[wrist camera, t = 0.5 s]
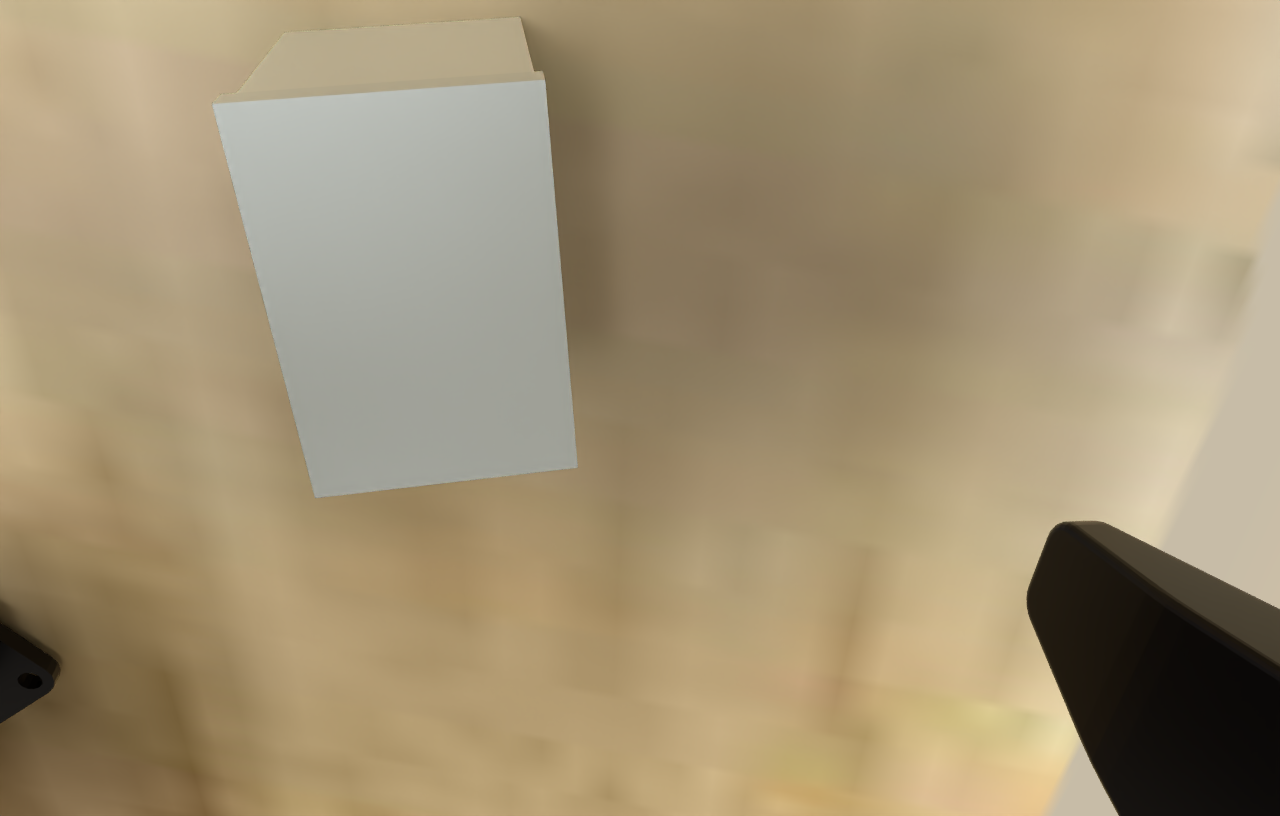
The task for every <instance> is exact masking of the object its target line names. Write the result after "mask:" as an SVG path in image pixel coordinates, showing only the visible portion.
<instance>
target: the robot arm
mask: <svg viewBox="0 0 1280 816" xmlns="http://www.w3.org/2000/svg"><path fill="white" fill-rule="evenodd" d="M1027 609H1028V614H1029V617H1030V620H1031V623H1032V625H1033V627H1034V630H1035V632H1036V635H1037V637H1038V639H1039V642H1040V644H1041V647H1042V649H1043V651H1044V654H1045V656H1046V659H1047V661H1048V663H1049V666H1050V668H1051V670H1052V673H1053V675H1054V678H1055V680H1056V682H1057V685H1058V687H1059V690H1060V692H1061V694H1062V697H1063V699H1064V702H1065V704H1066V706H1067V709H1068V711H1069V713H1070V716H1071V718H1072V721H1073V723H1074V725H1075V728H1076V730H1077V733H1078V735H1079V737H1080V740H1081V742H1082V744H1083V746H1084V748H1085V751H1086V753H1087V755H1088V757H1089V760H1090V762H1091V764H1092V766H1093V768H1094V769H1095V772H1096V773H1097V776H1098V778H1099V779H1100V781H1101V783H1102V785H1103V787H1104V789H1105V791H1106V793H1107V795H1108V796H1109V798H1110V800H1111V802H1112V804H1113V806H1114V808H1115V810H1116V811H1117V813H1118V815H1119V816H1280V609H1278V608H1276V607H1274V606H1272V605H1270V604H1268V603H1266V602H1264V601H1262V600H1260V599H1258V598H1256V597H1254V596H1252V595H1250V594H1248V593H1246V592H1244V591H1242V590H1240V589H1238V588H1236V587H1234V586H1232V585H1230V584H1228V583H1226V582H1224V581H1222V580H1220V579H1218V578H1216V577H1214V576H1212V575H1210V574H1207V573H1206V572H1204V571H1202V570H1199V569H1198V568H1196V567H1193V566H1192V565H1189V564H1187V563H1185V562H1183V561H1181V560H1179V559H1177V558H1175V557H1173V556H1171V555H1169V554H1167V553H1165V552H1163V551H1161V550H1159V549H1157V548H1155V547H1153V546H1151V545H1149V544H1147V543H1145V542H1143V541H1141V540H1139V539H1137V538H1135V537H1133V536H1131V535H1129V534H1127V533H1125V532H1123V531H1121V530H1119V529H1117V528H1115V527H1113V526H1111V525H1109V524H1106V523H1104V522H1099V521H1070V522H1062V523H1060V524H1057V525H1056V526H1055V527H1054V528H1053V529H1052V530H1051V531H1050V533H1049V535H1048V538H1047V540H1046V543H1045V545H1044V548H1043V551H1042V553H1041V556H1040V558H1039V561H1038V564H1037V566H1036V569H1035V571H1034V574H1033V577H1032V579H1031V582H1030V584H1029V587H1028V591H1027ZM29 673H33V674H36V675H38V676H34V675H31V674H29ZM59 674H60V666H59V664H58V662H57V661H56V660H54V659H53V658H52V657H51V656H49V655H48V654H46V653H45V652H43V651H42V650H40V649H39V648H37V647H36V646H34V645H33V644H31V643H30V642H28V641H27V640H25V639H24V638H22V637H21V636H19V635H18V634H16V633H15V632H13V631H11V630H10V629H8V628H7V627H5V626H4V625H2V624H1V623H0V723H2V722H3V721H5V720H6V719H8V718H9V717H11V716H13V715H14V714H16V713H17V712H19V711H20V710H22V709H24V708H25V707H27V706H28V705H30V704H32V703H33V702H35V701H36V700H38V699H39V698H41V697H43V696H44V695H46V694H47V693H49V692H50V691H51V690H52V689H53V687H54V685H55V683H56V681H57V679H58V676H59Z"/></svg>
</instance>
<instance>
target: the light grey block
mask: <svg viewBox="0 0 1280 816" xmlns="http://www.w3.org/2000/svg"><path fill="white" fill-rule="evenodd" d="M212 107H213V110H214V114H215V118H216V122H217V126H218V129H219V133H220V137H221V141H222V145H223V149H224V152H225V156H226V160H227V164H228V168H229V171H230V175H231V179H232V183H233V187H234V191H235V194H236V198H237V202H238V206H239V210H240V213H241V217H242V221H243V225H244V229H245V233H246V236H247V240H248V244H249V248H250V252H251V255H252V259H253V263H254V267H255V271H256V275H257V278H258V282H259V286H260V290H261V294H262V297H263V301H264V305H265V309H266V313H267V317H268V320H269V324H270V328H271V332H272V336H273V339H274V343H275V347H276V351H277V355H278V359H279V362H280V366H281V370H282V374H283V378H284V381H285V385H286V389H287V393H288V397H289V401H290V404H291V408H292V412H293V416H294V420H295V423H296V427H297V431H298V435H299V439H300V443H301V446H302V450H303V454H304V458H305V462H306V465H307V469H308V473H309V477H310V481H311V485H312V488H313V492H314V496H315V498H322V497H330V496H339V495H348V494H356V493H365V492H374V491H382V490H391V489H399V488H408V487H417V486H425V485H434V484H443V483H451V482H460V481H468V480H477V479H486V478H494V477H503V476H512V475H520V474H529V473H537V472H546V471H555V470H563V469H572V468H578V463H577V451H576V439H575V427H574V415H573V404H572V392H571V380H570V368H569V356H568V344H567V332H566V321H565V309H564V297H563V285H562V273H561V261H560V249H559V237H558V226H557V214H556V202H555V190H554V178H553V166H552V154H551V143H550V131H549V119H548V107H547V95H546V83H545V77H544V74H543V71H534V69H533V66H532V62H531V58H530V54H529V50H528V46H527V42H526V38H525V34H524V30H523V26H522V22H521V18H520V17H508V18H493V19H477V20H462V21H447V22H431V23H416V24H401V25H386V26H370V27H355V28H340V29H325V30H309V31H294V32H284V33H283V34H282V36H281V37H280V38H279V39H278V41H277V42H276V43H275V45H274V46H273V47H272V48H271V50H270V51H269V52H268V53H267V55H266V56H265V57H264V59H263V60H262V61H261V62H260V64H259V65H258V66H257V68H256V69H255V70H254V71H253V73H252V74H251V75H250V76H249V78H248V79H247V80H246V82H245V83H244V84H243V85H242V87H241V88H240V89H239V90H238V92H237V93H228V94H220V95H219V96H218V97H217V98H216V100H215V101H214V102H213V103H212Z"/></svg>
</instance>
